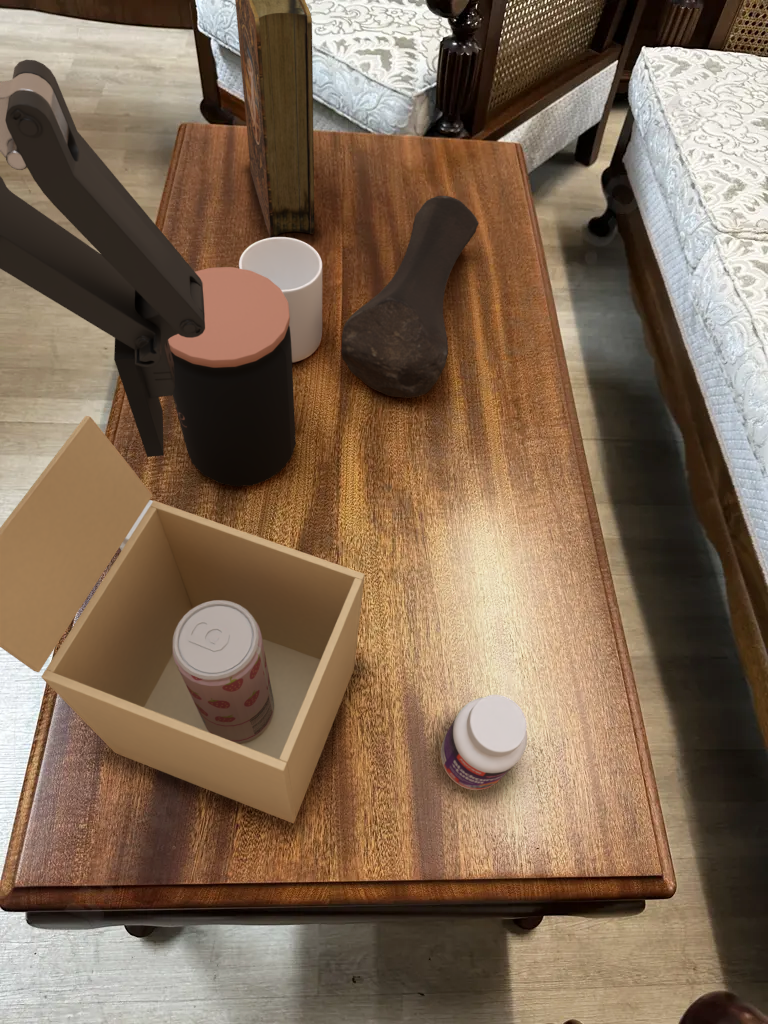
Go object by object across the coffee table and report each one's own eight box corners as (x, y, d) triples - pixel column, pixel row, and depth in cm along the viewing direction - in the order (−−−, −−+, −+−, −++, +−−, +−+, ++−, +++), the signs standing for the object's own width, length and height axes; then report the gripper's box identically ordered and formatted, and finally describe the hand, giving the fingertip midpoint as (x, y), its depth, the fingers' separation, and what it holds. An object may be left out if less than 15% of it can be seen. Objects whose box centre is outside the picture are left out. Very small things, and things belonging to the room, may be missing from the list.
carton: (114, 752, 56) (40, 677, 41) (193, 609, 63) (153, 499, 48) (293, 823, 54) (283, 771, 39) (354, 668, 61) (365, 573, 46)
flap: (39, 672, 40) (34, 671, 41) (153, 495, 47) (148, 494, 47) (-54, 606, 35) (-60, 605, 35) (90, 415, 42) (85, 415, 42)
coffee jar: (218, 394, 76) (192, 251, 60) (312, 426, 74) (310, 287, 59) (168, 471, 70) (126, 335, 55) (269, 506, 69) (255, 377, 54)
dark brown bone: (398, 424, 78) (448, 284, 95) (459, 369, 70) (501, 228, 88) (315, 366, 75) (383, 232, 92) (370, 301, 67) (432, 169, 84)
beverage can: (204, 676, 59) (172, 597, 46) (274, 673, 60) (262, 594, 47) (200, 746, 56) (165, 683, 43) (274, 743, 57) (260, 679, 44)
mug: (209, 361, 78) (194, 286, 69) (219, 308, 82) (207, 231, 74) (320, 368, 79) (319, 294, 70) (324, 315, 83) (324, 239, 74)
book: (248, 165, 97) (228, -56, 76) (288, 161, 98) (279, -58, 77) (271, 243, 89) (255, 19, 68) (314, 238, 90) (312, 17, 69)
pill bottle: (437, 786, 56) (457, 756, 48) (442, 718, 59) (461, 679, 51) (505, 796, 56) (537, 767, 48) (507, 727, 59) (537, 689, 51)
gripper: (-1306, -87, 12) (-326, 545, 30) (239, -57, 16) (280, 486, 34) (-951, -232, 16) (-272, 406, 34) (220, -179, 19) (266, 367, 37)
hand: (5, 447), depth 34 cm, fingers open, 13 cm apart
